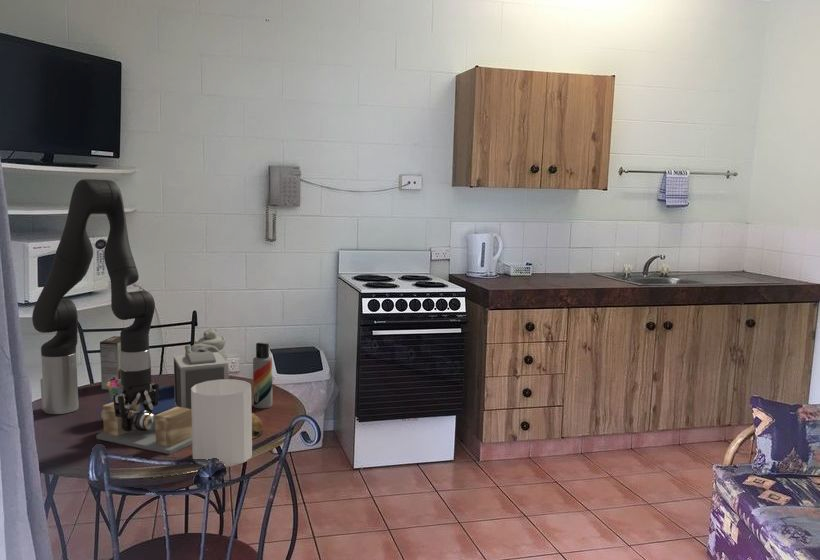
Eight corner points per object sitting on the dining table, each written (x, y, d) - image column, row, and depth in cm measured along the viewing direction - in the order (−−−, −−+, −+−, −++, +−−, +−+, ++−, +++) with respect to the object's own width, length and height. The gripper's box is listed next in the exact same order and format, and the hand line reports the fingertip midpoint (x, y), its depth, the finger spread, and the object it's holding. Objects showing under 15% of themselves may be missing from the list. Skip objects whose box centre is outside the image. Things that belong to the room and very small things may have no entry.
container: (182, 465, 169) (180, 393, 166) (208, 444, 183) (207, 377, 180) (238, 470, 166) (237, 397, 164) (261, 448, 180) (260, 381, 178)
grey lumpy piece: (188, 394, 226) (187, 337, 224) (174, 383, 238) (172, 329, 236) (236, 386, 236) (236, 331, 233) (220, 376, 248) (219, 324, 245)
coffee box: (115, 382, 238) (113, 335, 236) (133, 382, 238) (131, 336, 236) (100, 389, 229) (98, 341, 227) (119, 390, 229) (117, 342, 227)
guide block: (103, 433, 186) (102, 405, 185) (126, 424, 193) (126, 397, 192) (117, 435, 184) (116, 408, 183) (140, 426, 191) (139, 400, 190)
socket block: (155, 443, 179) (154, 415, 178) (177, 434, 186) (176, 406, 185) (170, 446, 177) (170, 418, 176) (192, 437, 184) (191, 409, 183)
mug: (130, 424, 196) (128, 388, 195) (100, 422, 198) (98, 385, 196) (153, 411, 208) (152, 377, 206) (124, 409, 209) (123, 375, 208)
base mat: (96, 438, 185) (96, 435, 185) (131, 425, 196) (131, 421, 195) (169, 454, 175) (169, 450, 175) (202, 439, 186) (202, 435, 186)
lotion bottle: (249, 407, 213) (249, 343, 211) (260, 402, 219) (259, 339, 216) (265, 409, 211) (265, 345, 209) (276, 404, 216) (275, 341, 214)
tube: (99, 425, 188) (98, 406, 188) (115, 420, 193) (114, 401, 193) (144, 435, 182) (143, 415, 181) (159, 428, 187) (158, 409, 186)
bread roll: (238, 455, 185) (247, 431, 182) (213, 432, 189) (222, 409, 186) (264, 444, 193) (273, 421, 190) (240, 422, 197) (249, 399, 195)
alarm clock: (230, 419, 202) (229, 358, 199) (183, 426, 196) (181, 362, 194) (218, 402, 218) (217, 345, 216) (174, 407, 212) (172, 348, 210)
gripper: (145, 358, 192) (147, 417, 194) (103, 370, 179) (106, 433, 181) (166, 362, 189) (167, 421, 191) (125, 374, 176) (127, 437, 178)
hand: (137, 426), depth 186 cm, fingers open, 6 cm apart
